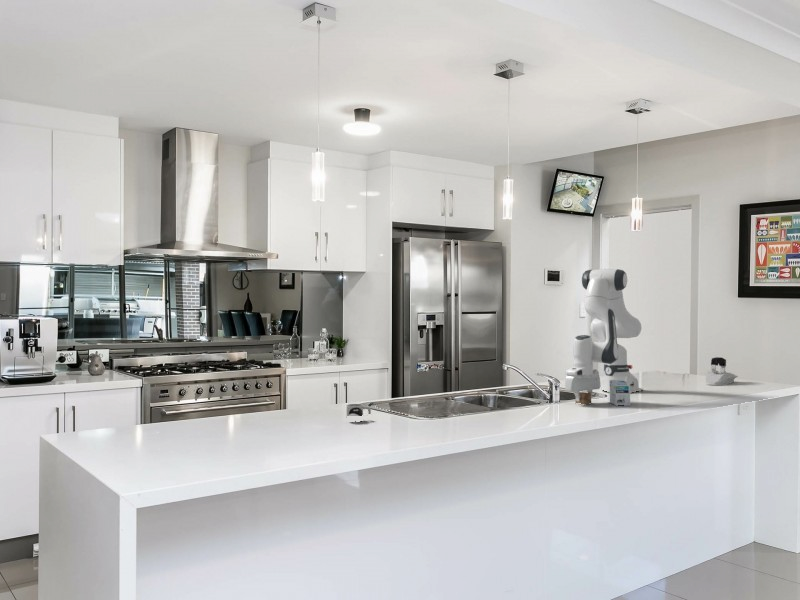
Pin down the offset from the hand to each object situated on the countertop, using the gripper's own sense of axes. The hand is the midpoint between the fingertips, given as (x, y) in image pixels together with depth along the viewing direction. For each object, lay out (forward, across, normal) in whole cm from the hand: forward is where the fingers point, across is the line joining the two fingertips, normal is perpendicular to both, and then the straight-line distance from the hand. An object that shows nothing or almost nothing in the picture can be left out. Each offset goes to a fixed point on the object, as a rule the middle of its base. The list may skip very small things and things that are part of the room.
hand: (583, 400), depth 321 cm
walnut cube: (+2, 0, 0) cm, 2 cm away
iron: (+2, -120, -6) cm, 120 cm away
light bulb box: (+2, -12, +11) cm, 16 cm away
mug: (+2, +108, -22) cm, 110 cm away
